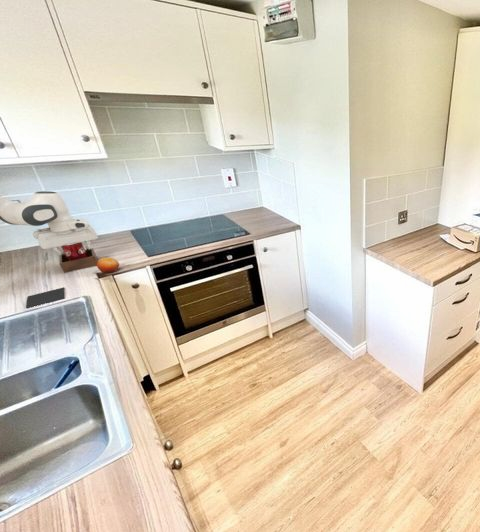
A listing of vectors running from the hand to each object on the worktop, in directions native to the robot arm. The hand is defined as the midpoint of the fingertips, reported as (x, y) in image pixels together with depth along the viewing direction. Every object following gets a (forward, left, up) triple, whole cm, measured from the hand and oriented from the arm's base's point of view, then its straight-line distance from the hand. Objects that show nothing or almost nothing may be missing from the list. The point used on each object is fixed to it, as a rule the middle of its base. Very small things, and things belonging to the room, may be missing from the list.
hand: (75, 252), depth 157 cm
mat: (-12, -30, -7) cm, 33 cm away
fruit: (+10, -18, -7) cm, 22 cm away
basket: (0, 0, -7) cm, 7 cm away
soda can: (0, 0, -7) cm, 7 cm away
